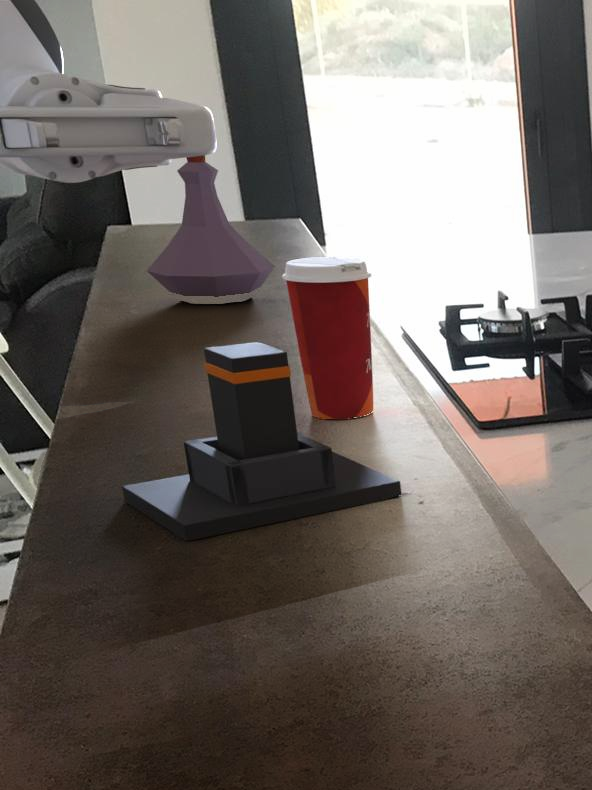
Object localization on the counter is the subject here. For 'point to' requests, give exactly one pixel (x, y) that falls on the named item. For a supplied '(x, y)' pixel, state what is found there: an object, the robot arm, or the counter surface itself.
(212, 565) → the counter surface
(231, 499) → the base pad
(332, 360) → the paper cup
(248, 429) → the black block
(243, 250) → the flask
